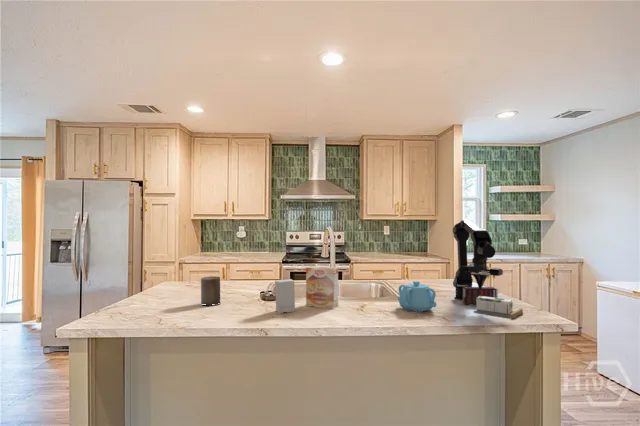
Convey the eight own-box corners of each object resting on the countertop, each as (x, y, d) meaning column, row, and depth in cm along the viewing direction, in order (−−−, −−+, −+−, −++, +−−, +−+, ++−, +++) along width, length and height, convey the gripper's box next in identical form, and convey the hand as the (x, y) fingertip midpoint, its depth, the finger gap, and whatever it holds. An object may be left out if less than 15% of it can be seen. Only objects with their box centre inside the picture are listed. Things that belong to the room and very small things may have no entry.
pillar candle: (224, 303, 193) (224, 274, 193) (209, 307, 185) (209, 277, 185) (211, 301, 198) (211, 273, 198) (196, 305, 190) (196, 275, 190)
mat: (473, 312, 171) (473, 307, 171) (484, 307, 181) (484, 303, 181) (513, 318, 159) (512, 314, 159) (522, 313, 169) (522, 309, 169)
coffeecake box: (305, 306, 185) (305, 267, 185) (311, 303, 192) (311, 265, 192) (333, 308, 179) (333, 268, 180) (338, 305, 186) (338, 267, 186)
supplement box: (494, 287, 188) (462, 286, 190) (498, 288, 184) (465, 288, 185) (494, 303, 188) (462, 303, 190) (497, 306, 183) (465, 305, 185)
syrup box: (479, 295, 179) (512, 298, 170) (480, 307, 179) (513, 311, 170) (476, 297, 175) (509, 301, 166) (476, 310, 175) (510, 314, 166)
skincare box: (291, 309, 179) (291, 278, 179) (295, 312, 174) (295, 280, 174) (274, 310, 176) (274, 279, 177) (277, 313, 171) (277, 281, 171)
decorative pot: (430, 306, 184) (430, 278, 184) (438, 314, 168) (437, 284, 168) (397, 305, 186) (397, 278, 186) (401, 313, 170) (401, 284, 170)
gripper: (453, 255, 177) (454, 288, 177) (493, 258, 164) (494, 293, 164) (463, 254, 185) (464, 285, 185) (502, 256, 172) (503, 290, 172)
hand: (480, 288), depth 176 cm, fingers closed
